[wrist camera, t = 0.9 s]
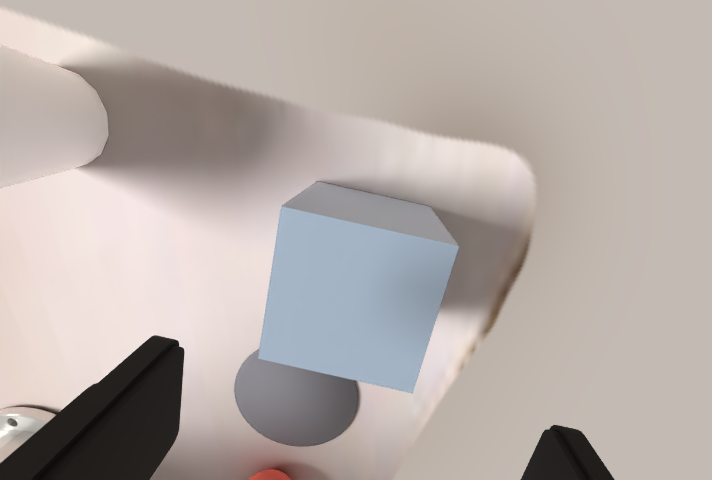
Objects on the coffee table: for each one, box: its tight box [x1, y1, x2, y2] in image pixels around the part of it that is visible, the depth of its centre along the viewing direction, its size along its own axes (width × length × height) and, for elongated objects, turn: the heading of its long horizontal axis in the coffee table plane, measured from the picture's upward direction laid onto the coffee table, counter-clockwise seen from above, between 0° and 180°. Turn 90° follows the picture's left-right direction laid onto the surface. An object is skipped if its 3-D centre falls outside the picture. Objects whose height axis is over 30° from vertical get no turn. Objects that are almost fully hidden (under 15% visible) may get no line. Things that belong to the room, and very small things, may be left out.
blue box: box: [258, 181, 459, 393], centre depth 20 cm, size 8×8×9 cm
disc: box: [234, 349, 357, 446], centre depth 28 cm, size 10×10×1 cm
